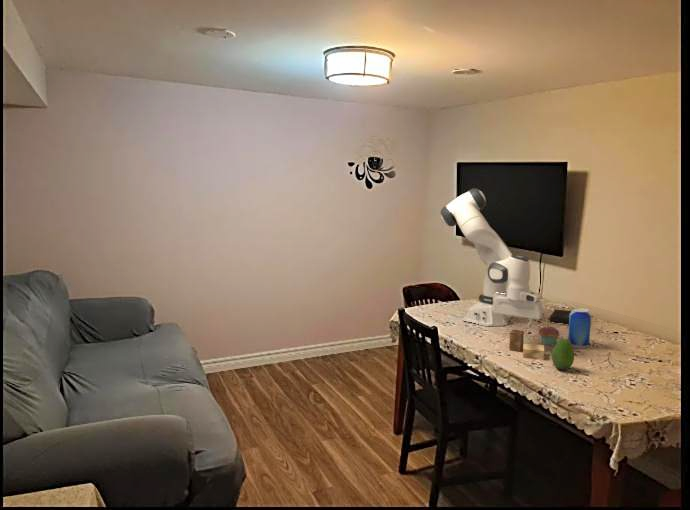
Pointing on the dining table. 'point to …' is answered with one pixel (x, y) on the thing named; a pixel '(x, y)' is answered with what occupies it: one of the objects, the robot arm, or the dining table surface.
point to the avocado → (563, 354)
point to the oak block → (533, 351)
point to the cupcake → (548, 334)
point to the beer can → (579, 327)
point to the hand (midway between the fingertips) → (516, 326)
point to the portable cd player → (560, 316)
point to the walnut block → (516, 340)
